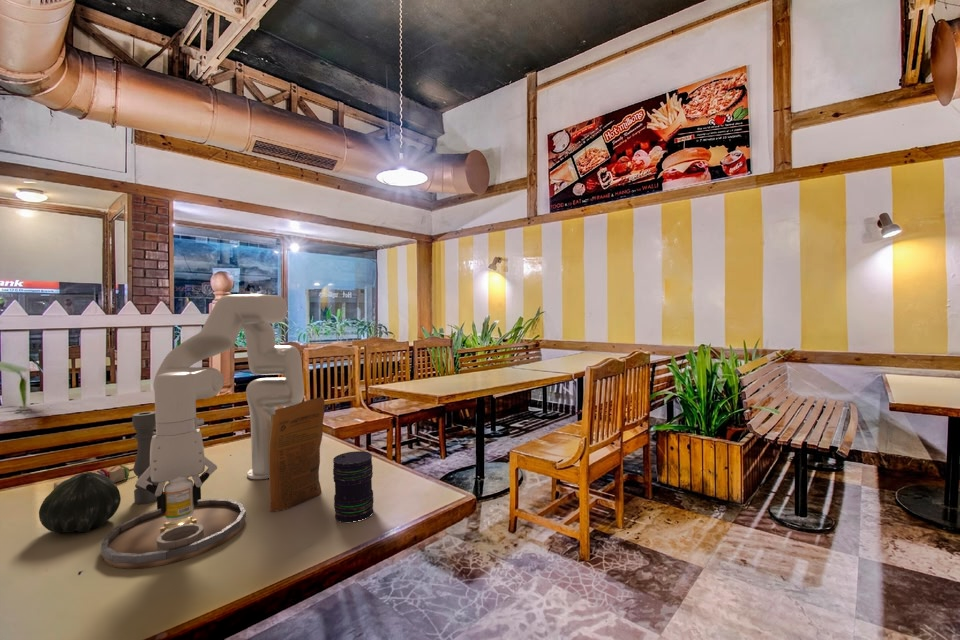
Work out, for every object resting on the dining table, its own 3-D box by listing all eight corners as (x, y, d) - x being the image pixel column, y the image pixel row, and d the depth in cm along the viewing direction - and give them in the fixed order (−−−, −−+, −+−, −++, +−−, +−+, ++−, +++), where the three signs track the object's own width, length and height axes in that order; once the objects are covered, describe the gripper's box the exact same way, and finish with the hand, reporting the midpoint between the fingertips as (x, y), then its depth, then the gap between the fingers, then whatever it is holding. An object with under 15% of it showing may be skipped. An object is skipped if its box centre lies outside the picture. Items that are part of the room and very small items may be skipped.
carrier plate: (235, 499, 125) (235, 486, 125) (254, 538, 103) (254, 523, 103) (107, 531, 109) (106, 516, 109) (96, 585, 86) (95, 567, 86)
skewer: (60, 500, 128) (59, 483, 128) (52, 496, 132) (51, 479, 132) (143, 476, 146) (142, 461, 146) (134, 473, 150) (133, 458, 149)
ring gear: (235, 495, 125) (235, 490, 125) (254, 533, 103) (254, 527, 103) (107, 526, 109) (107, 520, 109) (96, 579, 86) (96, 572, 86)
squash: (63, 496, 117) (44, 466, 108) (132, 488, 123) (119, 459, 114) (42, 551, 108) (19, 523, 98) (118, 539, 113) (103, 512, 104)
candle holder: (146, 505, 123) (143, 416, 123) (128, 503, 125) (125, 415, 124) (166, 495, 129) (163, 411, 129) (149, 494, 131) (146, 410, 130)
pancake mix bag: (334, 491, 130) (331, 396, 129) (275, 517, 114) (271, 409, 113) (319, 486, 133) (316, 394, 133) (260, 512, 117) (256, 407, 117)
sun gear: (195, 519, 111) (195, 513, 111) (197, 530, 105) (197, 524, 105) (160, 528, 107) (159, 522, 107) (160, 540, 101) (160, 534, 101)
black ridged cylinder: (381, 508, 118) (379, 452, 117) (359, 525, 108) (357, 465, 108) (349, 503, 121) (348, 449, 121) (326, 520, 112) (324, 461, 111)
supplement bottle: (174, 510, 102) (173, 469, 101) (199, 509, 102) (197, 467, 102) (159, 521, 96) (158, 477, 96) (185, 520, 97) (184, 476, 96)
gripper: (218, 418, 107) (221, 492, 107) (128, 431, 97) (131, 512, 97) (222, 423, 101) (225, 502, 101) (127, 438, 91) (130, 525, 91)
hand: (179, 506), depth 99 cm, fingers closed on supplement bottle, 5 cm apart
